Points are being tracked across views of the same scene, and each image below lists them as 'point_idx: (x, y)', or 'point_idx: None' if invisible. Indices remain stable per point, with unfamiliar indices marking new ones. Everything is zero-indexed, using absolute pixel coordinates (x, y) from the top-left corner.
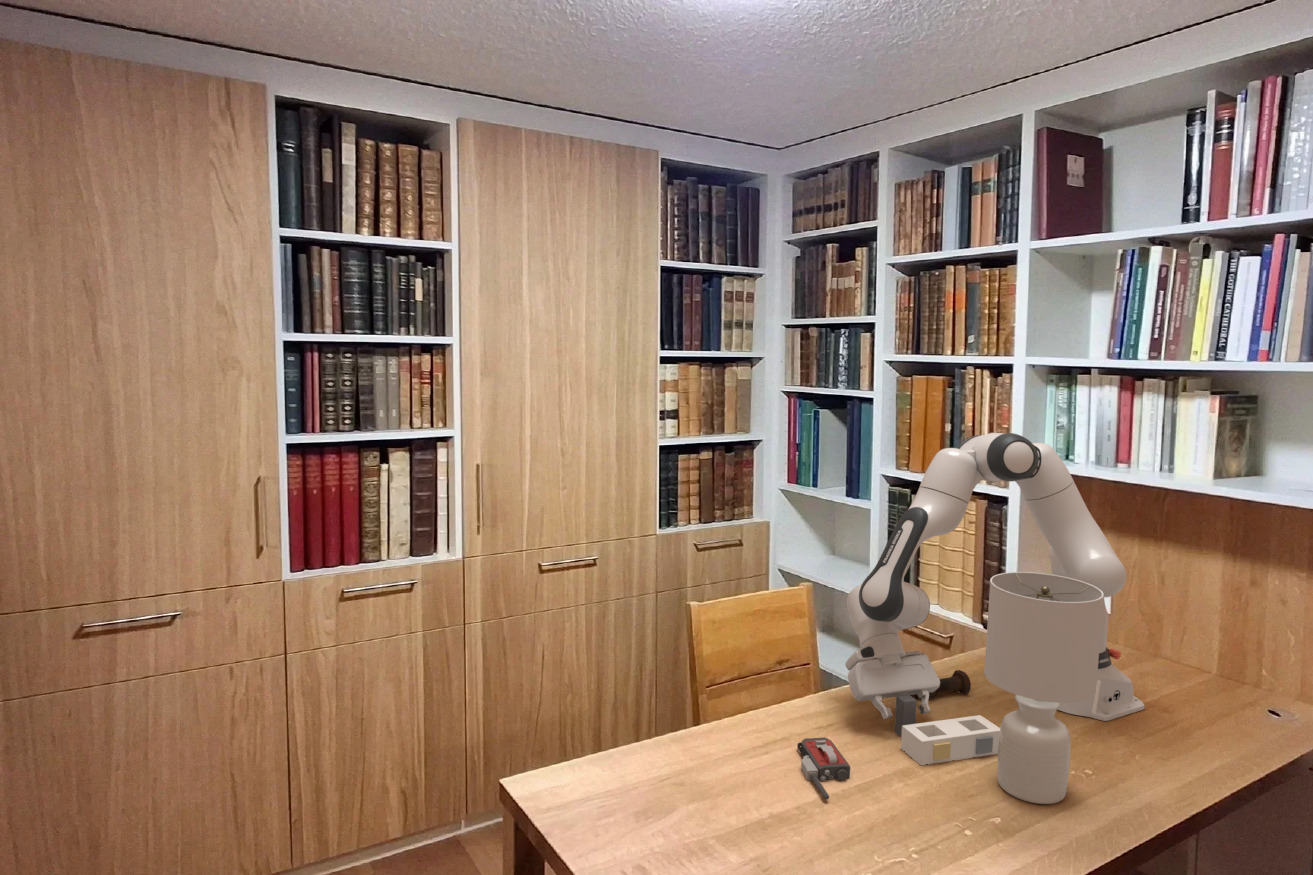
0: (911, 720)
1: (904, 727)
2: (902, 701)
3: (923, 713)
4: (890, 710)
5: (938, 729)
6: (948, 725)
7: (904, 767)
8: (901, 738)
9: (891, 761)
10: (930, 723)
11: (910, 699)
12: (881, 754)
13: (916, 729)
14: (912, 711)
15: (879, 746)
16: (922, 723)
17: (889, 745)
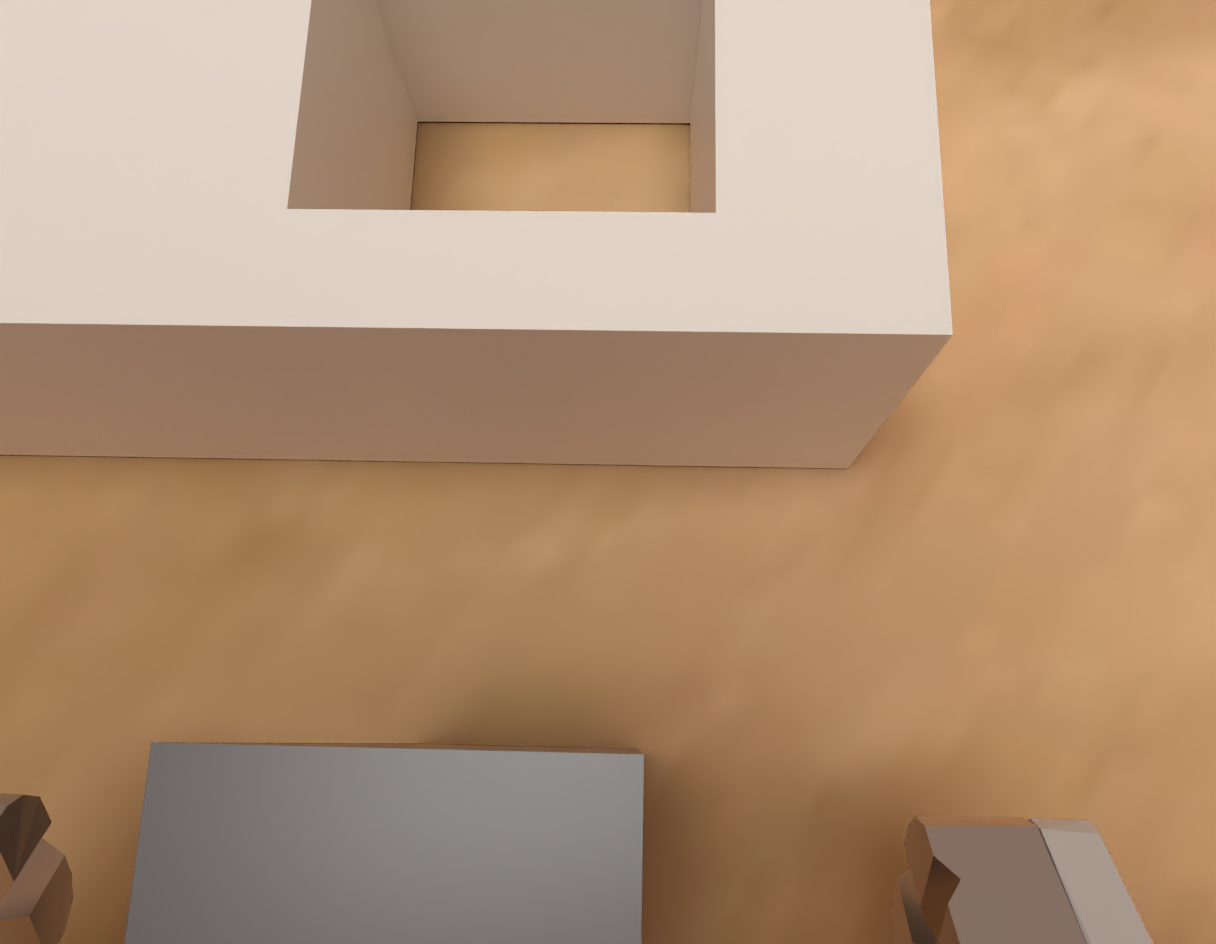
0: (442, 745)
1: (943, 253)
2: (638, 868)
3: (39, 857)
4: (965, 905)
5: (311, 95)
6: (46, 117)
7: (1051, 68)
8: (882, 417)
9: (1146, 220)
10: (316, 270)
11: (303, 876)
12: (1198, 403)
13: (752, 129)
14: (385, 745)
15: (1123, 608)
16: (475, 305)
17: (959, 594)
